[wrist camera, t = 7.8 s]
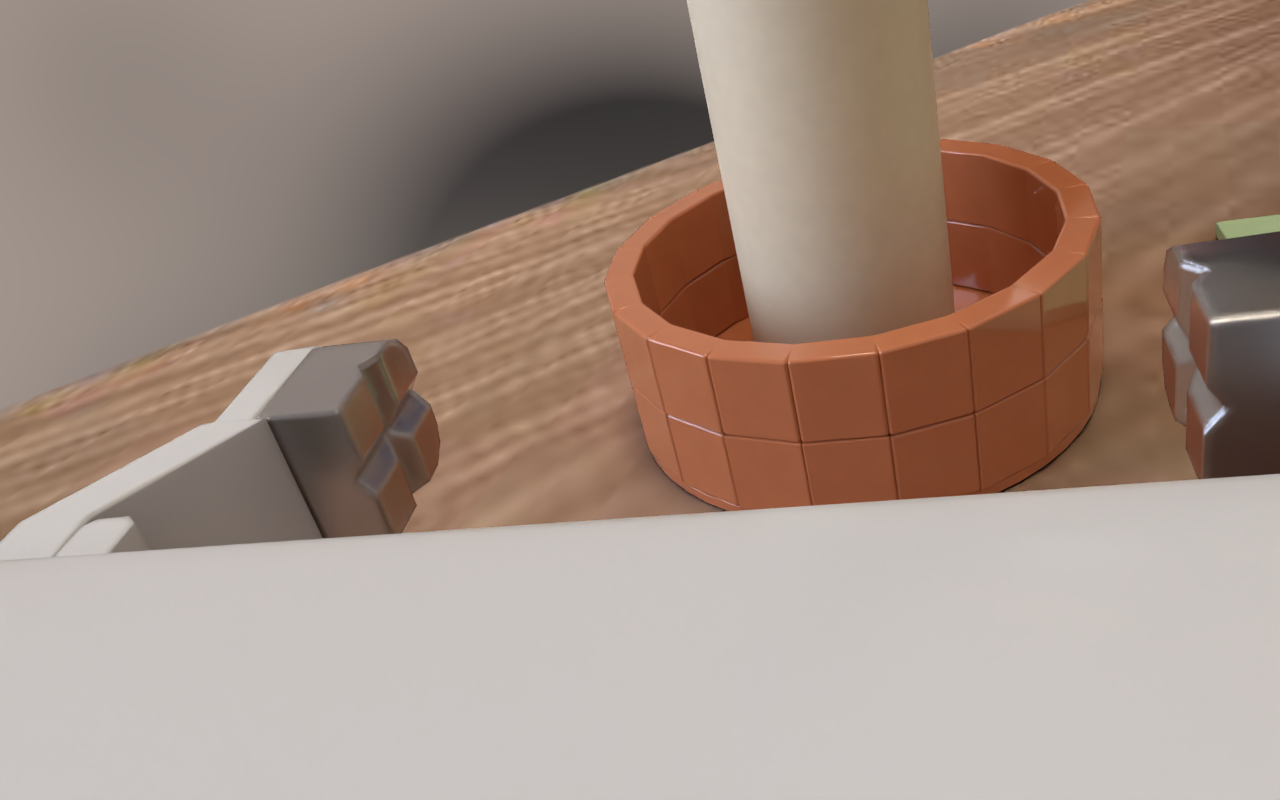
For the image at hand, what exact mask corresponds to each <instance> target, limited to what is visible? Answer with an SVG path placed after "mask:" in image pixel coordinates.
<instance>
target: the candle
mask: <svg viewBox="0 0 1280 800" xmlns="http://www.w3.org/2000/svg"><path fill="white" fill-rule="evenodd" d="M687 4H688V10H689V15H690V20H691V24H692V30H693V35H694V40H695V45H696V50H697V55H698V60H699V65H700V71H701V76H702V81H703V85H704V91H705V96H706V101H707V106H708V111H709V116H710V121H711V126H712V131H713V136H714V142H715V147H716V152H717V157H718V162H719V167H720V172H721V177H722V182H723V187H724V192H725V197H726V202H727V207H728V213H729V218H730V223H731V228H732V233H733V238H734V243H735V248H736V253H737V258H738V263H739V268H740V273H741V278H742V284H743V289H744V294H745V299H746V304H747V309H748V314H749V319H750V324H751V329H752V334H753V339H754V342H770V343H786V344H798V343H807V342H817V341H826V340H835V339H845V338H854V337H863V336H873V335H876V334H880V333H884V332H888V331H891V330H895V329H899V328H903V327H906V326H910V325H914V324H917V323H921V322H925V321H929V320H932V319H936V318H940V317H944V316H947V315H950V314H952V313H954V312H955V308H954V297H953V285H952V274H951V262H950V251H949V240H948V228H947V217H946V206H945V194H944V183H943V171H942V160H941V149H940V137H939V126H938V115H937V103H936V92H935V80H934V69H933V58H932V47H931V35H930V23H929V12H928V1H927V0H687Z"/></svg>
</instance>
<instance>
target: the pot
mask: <svg viewBox="0 0 1280 800" xmlns="http://www.w3.org/2000/svg"><path fill="white" fill-rule="evenodd" d="M940 149H941V160H942V171H943V183H944V194H945V206H946V217H947V228H948V240H949V251H950V262H951V274H952V285H953V297H954V308H955V312H954V313H952V314H950V315H947V316H944V317H940V318H936V319H932V320H929V321H925V322H921V323H917V324H914V325H910V326H906V327H903V328H899V329H895V330H891V331H888V332H884V333H880V334H876V335H873V336H863V337H854V338H845V339H835V340H826V341H817V342H807V343H798V344H786V343H770V342H754V339H753V334H752V329H751V324H750V319H749V314H748V309H747V304H746V299H745V294H744V289H743V284H742V278H741V273H740V268H739V263H738V258H737V253H736V248H735V243H734V238H733V233H732V228H731V223H730V218H729V213H728V207H727V202H726V197H725V192H724V187H723V182H722V180H719V181H717V182H714V183H712V184H709V185H707V186H704V187H702V188H700V189H697V190H696V191H694V192H692V193H690V194H688V195H687V196H685V197H683V198H682V199H680V200H678V201H677V202H675V203H673V204H672V205H670V206H668V207H667V208H665V209H663V210H662V211H660V212H658V213H657V214H655V215H653V216H652V217H651V218H649V219H648V220H647V221H646V222H645V223H644V224H643V225H642V226H641V227H640V228H639V229H637V230H636V231H635V232H634V233H633V234H632V235H631V236H630V237H629V238H628V239H627V240H626V241H625V242H624V243H623V244H622V245H621V246H620V248H618V249H617V251H616V253H615V256H614V258H613V261H612V263H611V265H610V268H609V270H608V272H607V275H606V277H605V280H604V281H605V282H604V284H605V288H606V292H607V295H608V299H609V303H610V307H611V311H612V314H613V318H614V322H615V325H616V329H617V333H618V337H619V340H620V344H621V348H622V351H623V355H624V359H625V363H626V366H627V370H628V374H629V377H630V381H631V385H632V389H633V392H634V396H635V400H636V403H637V407H638V411H639V415H640V418H641V422H642V426H643V429H644V433H645V437H646V441H647V444H648V447H649V449H650V451H651V453H652V455H653V456H654V458H655V460H656V462H657V463H658V465H659V466H660V467H661V468H662V469H663V471H664V472H665V473H666V474H667V475H668V476H669V477H670V478H671V479H672V480H673V481H674V482H676V483H677V484H678V485H679V486H681V487H682V488H683V489H685V490H686V491H687V492H689V493H691V494H692V495H694V496H696V497H698V498H700V499H702V500H703V501H705V502H707V503H709V504H712V505H714V506H717V507H719V508H722V509H724V510H727V511H740V510H755V509H770V508H785V507H800V506H815V505H829V504H844V503H859V502H874V501H888V500H903V499H918V498H932V497H947V496H962V495H976V494H991V493H998V492H1000V491H1002V490H1004V489H1006V488H1008V487H1010V486H1012V485H1014V484H1016V483H1018V482H1020V481H1022V480H1024V479H1025V478H1027V477H1028V476H1030V475H1032V474H1033V473H1035V472H1036V471H1038V470H1039V469H1041V468H1042V467H1044V466H1046V465H1047V464H1048V463H1049V462H1050V461H1052V460H1053V459H1054V458H1055V457H1056V456H1058V455H1059V454H1060V453H1061V452H1062V451H1064V450H1065V449H1066V448H1067V447H1068V446H1069V445H1070V443H1071V442H1072V441H1073V440H1074V439H1075V438H1076V437H1077V436H1078V434H1079V433H1080V432H1081V431H1082V429H1083V428H1084V426H1085V424H1086V423H1087V421H1088V419H1089V418H1090V416H1091V414H1092V413H1093V410H1094V407H1095V404H1096V401H1097V399H1098V396H1099V387H1100V378H1101V375H1102V372H1103V299H1102V226H1101V216H1100V213H1099V211H1098V208H1097V206H1096V203H1095V201H1094V198H1093V196H1092V193H1091V191H1090V188H1089V186H1087V184H1086V183H1085V182H1083V181H1082V180H1081V179H1079V178H1078V177H1076V176H1075V175H1073V174H1072V173H1070V172H1069V171H1067V170H1066V169H1064V168H1063V167H1062V166H1060V165H1059V164H1057V163H1056V162H1054V161H1051V160H1050V159H1047V158H1044V157H1040V156H1037V155H1033V154H1030V153H1027V152H1023V151H1020V150H1016V149H1013V148H1010V147H1006V146H1001V145H999V144H988V143H978V142H968V141H958V140H948V139H941V140H940Z"/></svg>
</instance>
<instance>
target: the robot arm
mask: <svg viewBox="0 0 1280 800" xmlns="http://www.w3.org/2000/svg"><path fill="white" fill-rule="evenodd" d="M1163 291H1164V293H1165V296H1166V298H1167V300H1168V303H1169V305H1170V307H1171V310H1172V312H1173V314H1174V317H1173V318H1172V319H1171V320H1170V322H1169V323H1168V324H1167V325H1166V326H1165V328H1164V329H1163V330H1162V361H1163V371H1164V381H1165V389H1166V393H1167V397H1168V401H1169V405H1170V408H1171V411H1172V414H1173V416H1174V419H1175V421H1176V422H1178V423H1180V424H1182V425H1184V426H1186V450H1187V452H1188V455H1189V457H1190V460H1191V462H1192V465H1193V467H1194V470H1195V472H1196V475H1197V477H1198V479H1196V480H1181V481H1167V482H1152V483H1137V484H1123V485H1108V486H1094V487H1079V488H1064V489H1050V490H1035V491H1020V492H1006V493H991V494H976V495H962V496H947V497H932V498H918V499H903V500H888V501H874V502H859V503H844V504H829V505H815V506H800V507H785V508H770V509H755V510H740V511H725V512H710V513H695V514H680V515H666V516H651V517H636V518H621V519H606V520H591V521H576V522H561V523H546V524H531V525H517V526H502V527H487V528H472V529H457V530H442V531H427V532H412V533H402V532H403V530H404V528H405V527H406V525H407V523H408V521H409V519H410V517H411V515H412V514H413V512H414V510H415V508H416V506H417V505H416V503H415V500H414V498H413V495H412V494H413V493H414V492H415V491H417V490H418V489H420V488H421V487H422V486H424V485H425V484H427V483H428V482H429V481H430V480H431V478H432V476H433V474H434V472H435V470H436V468H437V466H438V458H439V449H440V438H439V432H438V426H437V421H436V419H435V416H434V413H433V410H432V408H431V405H430V404H429V403H428V402H427V401H426V400H424V399H423V398H422V397H421V396H419V395H418V394H417V393H416V392H414V391H413V390H412V388H413V385H414V382H415V379H416V376H417V373H418V371H417V369H416V367H415V364H414V362H413V360H412V357H411V355H410V353H409V350H408V348H407V347H406V346H405V345H403V344H402V343H401V342H399V341H398V340H397V339H393V340H382V341H372V342H362V343H352V344H342V345H332V346H323V347H318V346H313V347H307V348H301V349H295V350H288V351H282V352H276V353H274V354H273V355H272V357H271V358H270V359H269V360H268V361H267V362H266V364H265V365H264V366H263V367H262V368H261V369H260V370H259V372H258V373H257V374H256V375H255V376H254V377H253V379H252V380H251V381H250V382H249V383H248V384H247V385H246V387H245V388H244V389H243V390H242V391H241V392H240V393H239V395H238V396H237V397H236V398H235V399H234V400H233V402H232V403H231V404H230V405H229V406H228V407H227V408H226V410H225V411H224V412H223V413H222V414H221V415H220V417H219V418H218V419H217V420H216V421H215V422H214V423H209V424H202V425H200V426H198V427H196V428H195V429H193V430H191V431H189V432H187V433H185V434H183V435H182V436H180V437H178V438H176V439H174V440H172V441H170V442H169V443H167V444H165V445H163V446H161V447H159V448H157V449H155V450H154V451H152V452H150V453H148V454H146V455H144V456H142V457H141V458H139V459H137V460H135V461H133V462H131V463H129V464H128V465H126V466H124V467H122V468H120V469H118V470H116V471H115V472H113V473H111V474H109V475H107V476H105V477H103V478H102V479H100V480H98V481H96V482H94V483H92V484H90V485H88V486H87V487H85V488H83V489H81V490H79V491H77V492H75V493H74V494H72V495H70V496H68V497H66V498H64V499H62V500H61V501H59V502H57V503H55V504H53V505H51V506H49V507H48V508H46V509H44V510H42V511H40V512H38V513H36V514H34V515H33V516H31V517H29V518H27V519H25V520H23V521H21V522H20V523H19V524H18V525H17V526H16V527H15V528H14V529H13V530H12V531H11V532H10V533H9V534H8V535H7V536H6V537H5V538H4V539H3V540H2V541H1V542H0V800H1280V231H1278V232H1271V233H1264V234H1257V235H1250V236H1243V237H1236V238H1228V239H1221V240H1214V241H1207V242H1200V243H1193V244H1186V245H1179V246H1172V247H1171V248H1169V249H1168V250H1166V257H1165V263H1164V280H1163Z"/></svg>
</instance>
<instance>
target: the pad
mask: <svg viewBox="0 0 1280 800" xmlns="http://www.w3.org/2000/svg"><path fill="white" fill-rule="evenodd" d="M1278 231H1280V215H1272V216H1264V217H1256V218H1247V219H1239V220H1231V221H1223V222H1217V224H1216V236H1217V238H1218V240H1221V239H1228V238H1236V237H1243V236H1250V235H1257V234H1264V233H1271V232H1278Z"/></svg>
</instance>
